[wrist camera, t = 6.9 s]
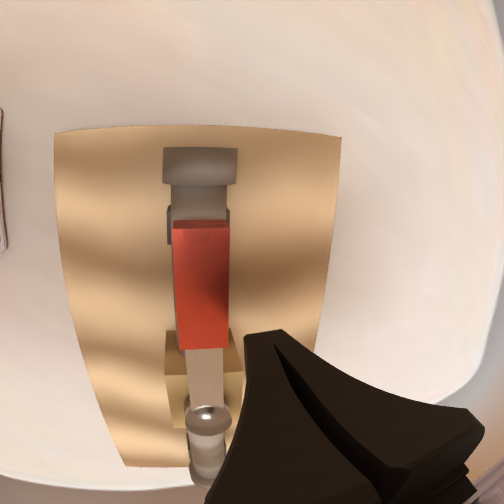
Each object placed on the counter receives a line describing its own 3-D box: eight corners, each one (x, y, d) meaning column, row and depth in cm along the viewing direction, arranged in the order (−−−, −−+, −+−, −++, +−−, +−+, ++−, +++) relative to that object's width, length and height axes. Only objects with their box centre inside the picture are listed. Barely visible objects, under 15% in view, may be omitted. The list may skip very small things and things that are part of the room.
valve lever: (228, 417, 15) (232, 435, 14) (185, 420, 15) (187, 438, 14) (230, 219, 12) (236, 227, 11) (168, 220, 11) (166, 229, 10)
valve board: (64, 134, 14) (17, 130, 9) (330, 137, 18) (384, 137, 12) (126, 454, 23) (124, 501, 18) (284, 444, 26) (302, 487, 21)
